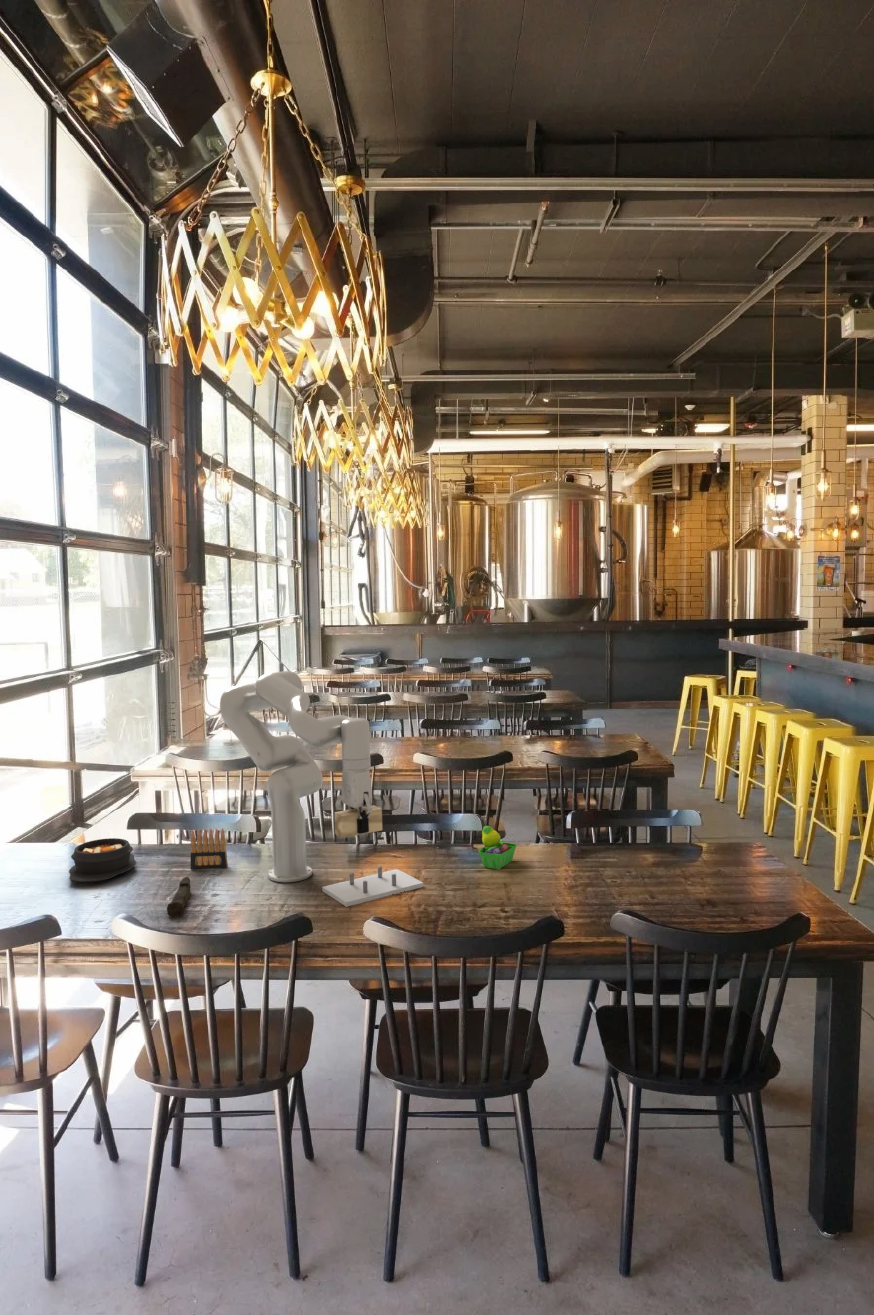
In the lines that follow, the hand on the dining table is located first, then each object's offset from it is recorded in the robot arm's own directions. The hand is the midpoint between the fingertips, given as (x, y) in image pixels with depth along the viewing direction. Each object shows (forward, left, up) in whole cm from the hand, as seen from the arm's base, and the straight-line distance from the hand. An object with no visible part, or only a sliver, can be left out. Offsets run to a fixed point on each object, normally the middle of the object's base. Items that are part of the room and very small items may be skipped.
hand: (358, 829), depth 220 cm
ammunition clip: (-45, -27, -18) cm, 56 cm away
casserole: (-60, -54, -18) cm, 83 cm away
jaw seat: (0, +4, -17) cm, 18 cm away
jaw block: (0, 0, -1) cm, 1 cm away
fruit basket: (+4, +44, -18) cm, 48 cm away
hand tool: (-22, -43, -18) cm, 51 cm away
